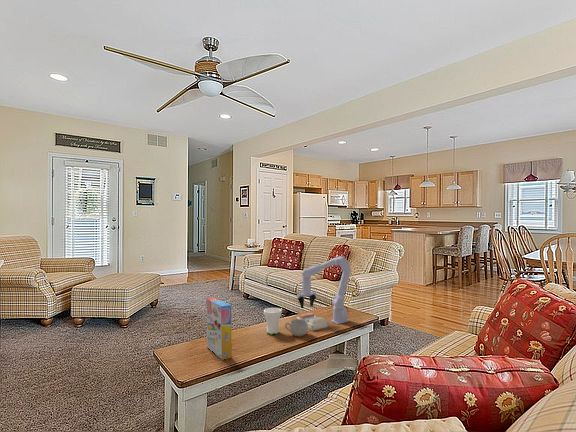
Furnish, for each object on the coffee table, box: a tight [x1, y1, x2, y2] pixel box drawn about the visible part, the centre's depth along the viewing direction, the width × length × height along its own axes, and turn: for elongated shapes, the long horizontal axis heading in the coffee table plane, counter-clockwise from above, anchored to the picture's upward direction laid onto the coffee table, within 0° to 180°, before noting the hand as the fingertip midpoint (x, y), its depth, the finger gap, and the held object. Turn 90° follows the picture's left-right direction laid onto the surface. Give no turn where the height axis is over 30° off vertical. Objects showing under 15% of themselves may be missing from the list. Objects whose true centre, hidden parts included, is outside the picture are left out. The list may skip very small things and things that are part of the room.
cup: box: [263, 307, 283, 336], centre depth 205 cm, size 11×11×14 cm
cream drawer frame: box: [295, 315, 330, 332], centre depth 219 cm, size 13×20×4 cm, turn 30°
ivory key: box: [309, 316, 326, 325], centre depth 214 cm, size 10×4×2 cm, turn 120°
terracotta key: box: [298, 312, 315, 319], centre depth 224 cm, size 10×4×2 cm, turn 120°
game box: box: [205, 297, 233, 361], centre depth 176 cm, size 21×6×27 cm, turn 35°
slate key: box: [304, 315, 320, 322], centre depth 219 cm, size 10×4×2 cm, turn 120°
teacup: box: [284, 318, 309, 338], centre depth 201 cm, size 14×11×8 cm
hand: (306, 307), depth 224 cm, fingers open, 7 cm apart
